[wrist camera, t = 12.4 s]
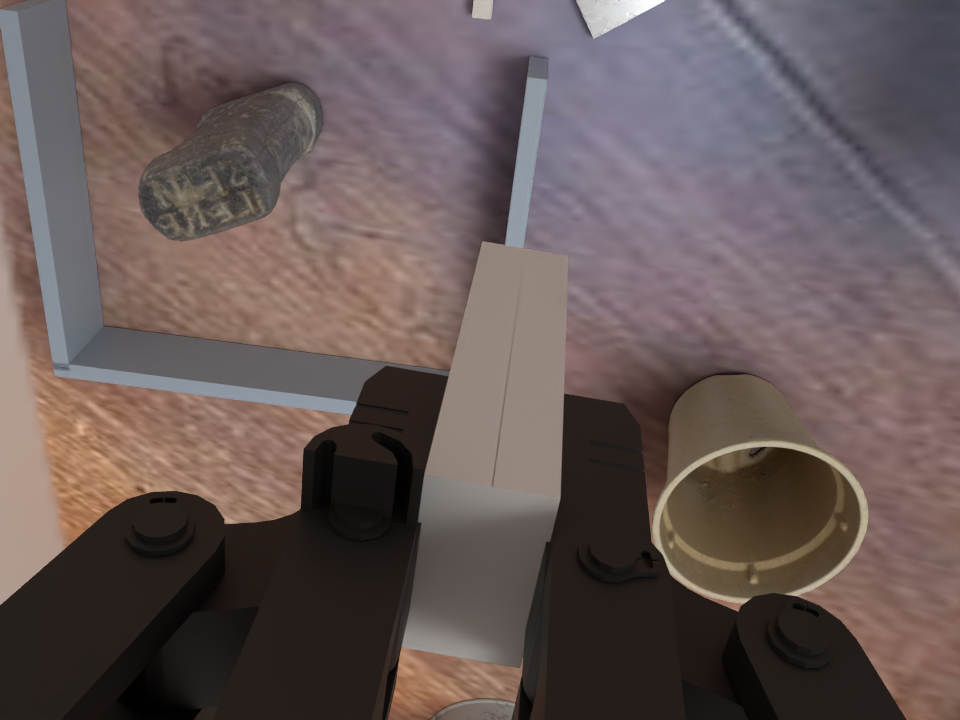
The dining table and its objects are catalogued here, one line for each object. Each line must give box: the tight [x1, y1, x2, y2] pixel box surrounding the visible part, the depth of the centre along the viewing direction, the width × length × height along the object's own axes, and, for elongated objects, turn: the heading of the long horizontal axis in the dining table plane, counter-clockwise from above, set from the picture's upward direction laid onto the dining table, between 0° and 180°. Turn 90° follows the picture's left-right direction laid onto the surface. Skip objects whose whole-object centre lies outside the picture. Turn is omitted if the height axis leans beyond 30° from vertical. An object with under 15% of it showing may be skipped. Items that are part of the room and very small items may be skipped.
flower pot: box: [652, 374, 868, 604], centre depth 44 cm, size 9×9×9 cm
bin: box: [0, 0, 548, 415], centre depth 42 cm, size 17×22×4 cm
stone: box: [138, 82, 323, 241], centre depth 37 cm, size 3×6×10 cm, turn 106°
